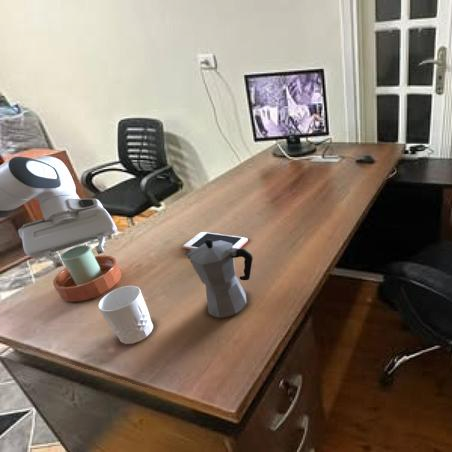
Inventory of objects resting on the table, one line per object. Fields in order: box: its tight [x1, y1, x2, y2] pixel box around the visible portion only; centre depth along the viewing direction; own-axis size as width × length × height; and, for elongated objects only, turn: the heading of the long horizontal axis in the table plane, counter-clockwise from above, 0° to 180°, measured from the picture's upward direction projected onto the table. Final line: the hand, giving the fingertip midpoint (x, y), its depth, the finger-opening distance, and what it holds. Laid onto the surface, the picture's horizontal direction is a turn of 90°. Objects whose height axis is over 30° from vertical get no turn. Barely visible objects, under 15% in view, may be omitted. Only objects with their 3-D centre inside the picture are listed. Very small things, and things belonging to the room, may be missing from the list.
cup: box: [60, 245, 103, 286], centre depth 91 cm, size 6×6×10 cm
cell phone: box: [182, 231, 249, 250], centre depth 107 cm, size 9×18×1 cm, turn 69°
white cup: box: [97, 285, 154, 345], centre depth 75 cm, size 8×8×10 cm
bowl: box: [52, 254, 123, 303], centre depth 93 cm, size 14×14×5 cm
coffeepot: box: [183, 239, 254, 319], centre depth 78 cm, size 15×9×18 cm, turn 83°
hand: (80, 259), depth 91 cm, fingers open, 8 cm apart
